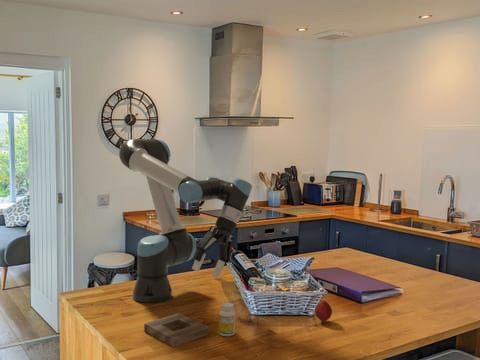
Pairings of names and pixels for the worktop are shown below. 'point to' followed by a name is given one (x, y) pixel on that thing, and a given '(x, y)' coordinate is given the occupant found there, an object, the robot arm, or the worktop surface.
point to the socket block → (176, 338)
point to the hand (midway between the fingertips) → (205, 273)
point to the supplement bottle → (227, 319)
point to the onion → (323, 311)
